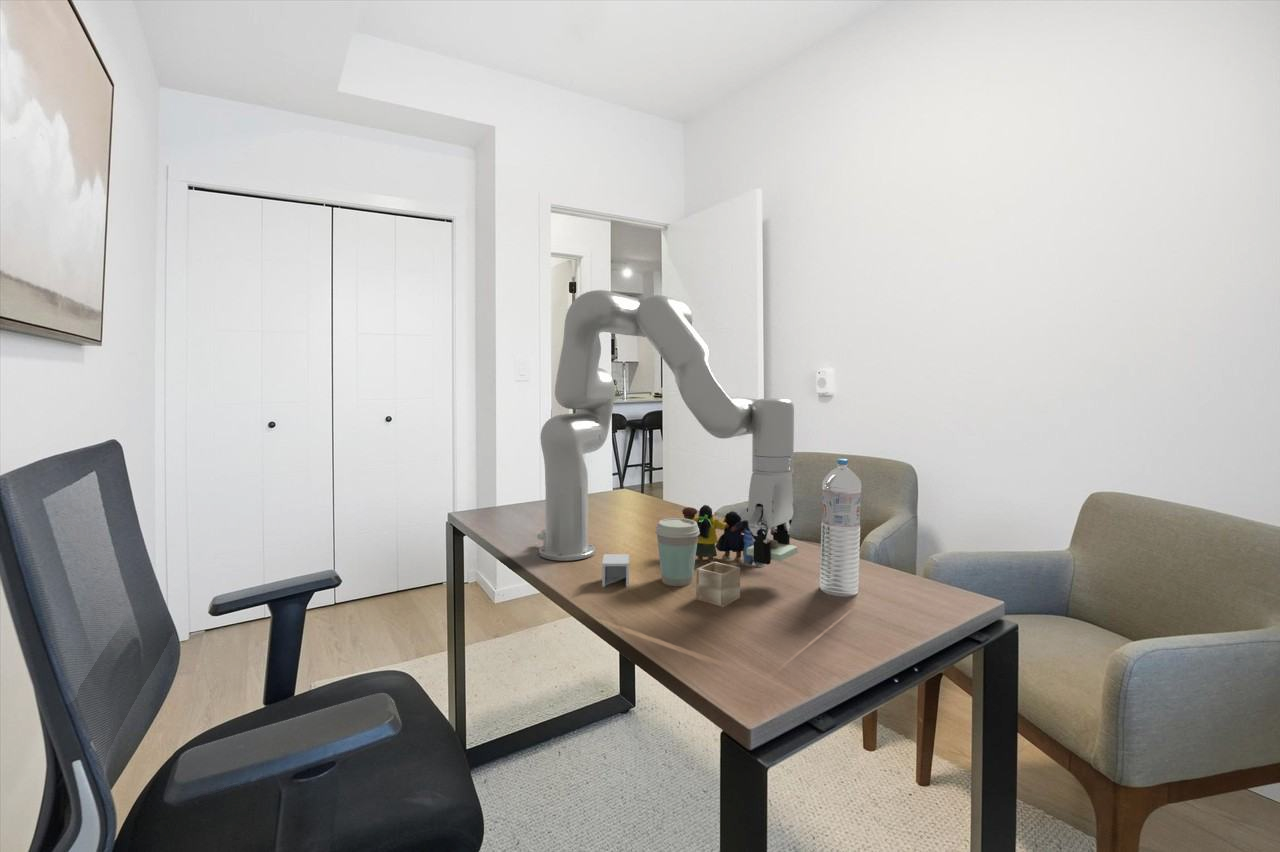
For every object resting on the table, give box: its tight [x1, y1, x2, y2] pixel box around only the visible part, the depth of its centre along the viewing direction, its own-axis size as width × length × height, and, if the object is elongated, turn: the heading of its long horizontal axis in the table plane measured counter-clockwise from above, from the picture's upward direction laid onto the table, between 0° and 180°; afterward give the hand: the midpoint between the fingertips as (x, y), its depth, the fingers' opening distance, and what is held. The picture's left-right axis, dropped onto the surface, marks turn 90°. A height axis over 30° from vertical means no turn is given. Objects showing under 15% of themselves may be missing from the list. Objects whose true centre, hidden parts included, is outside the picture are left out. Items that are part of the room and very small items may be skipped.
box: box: [695, 560, 741, 608], centre depth 106 cm, size 6×6×6 cm
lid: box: [747, 539, 799, 562], centre depth 113 cm, size 7×7×2 cm
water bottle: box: [819, 458, 862, 598], centre depth 110 cm, size 7×7×25 cm
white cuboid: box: [601, 553, 630, 588], centre depth 115 cm, size 6×5×5 cm
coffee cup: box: [655, 517, 700, 587], centre depth 116 cm, size 8×8×12 cm
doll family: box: [681, 504, 776, 569], centre depth 130 cm, size 23×9×13 cm, turn 81°
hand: (771, 557), depth 113 cm, fingers closed on lid, 7 cm apart
